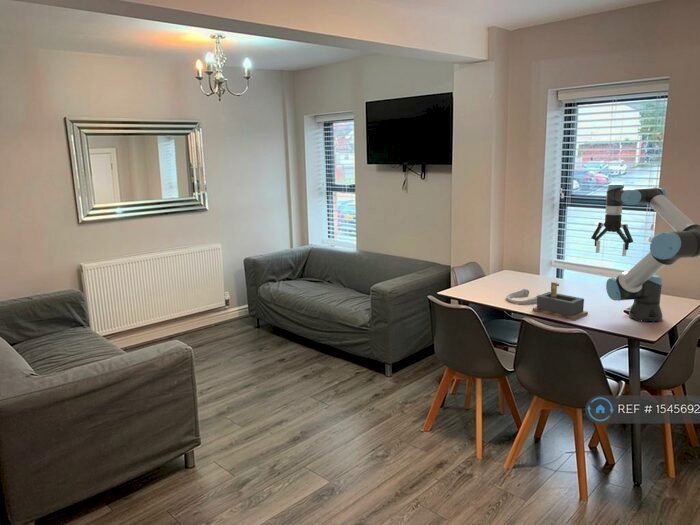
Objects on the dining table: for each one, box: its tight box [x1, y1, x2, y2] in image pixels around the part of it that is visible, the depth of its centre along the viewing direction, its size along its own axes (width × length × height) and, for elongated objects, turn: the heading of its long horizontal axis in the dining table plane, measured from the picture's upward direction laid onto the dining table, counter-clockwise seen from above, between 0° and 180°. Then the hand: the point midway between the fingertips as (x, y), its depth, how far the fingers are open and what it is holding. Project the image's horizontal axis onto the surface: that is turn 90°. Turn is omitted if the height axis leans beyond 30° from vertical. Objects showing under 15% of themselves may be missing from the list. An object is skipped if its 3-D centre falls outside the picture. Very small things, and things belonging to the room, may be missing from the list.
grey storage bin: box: [536, 291, 585, 316], centre depth 280 cm, size 20×12×7 cm, turn 40°
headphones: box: [506, 288, 540, 305], centre depth 306 cm, size 18×17×5 cm
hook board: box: [531, 281, 589, 321], centre depth 279 cm, size 24×14×16 cm, turn 40°
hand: (610, 254), depth 273 cm, fingers open, 13 cm apart
